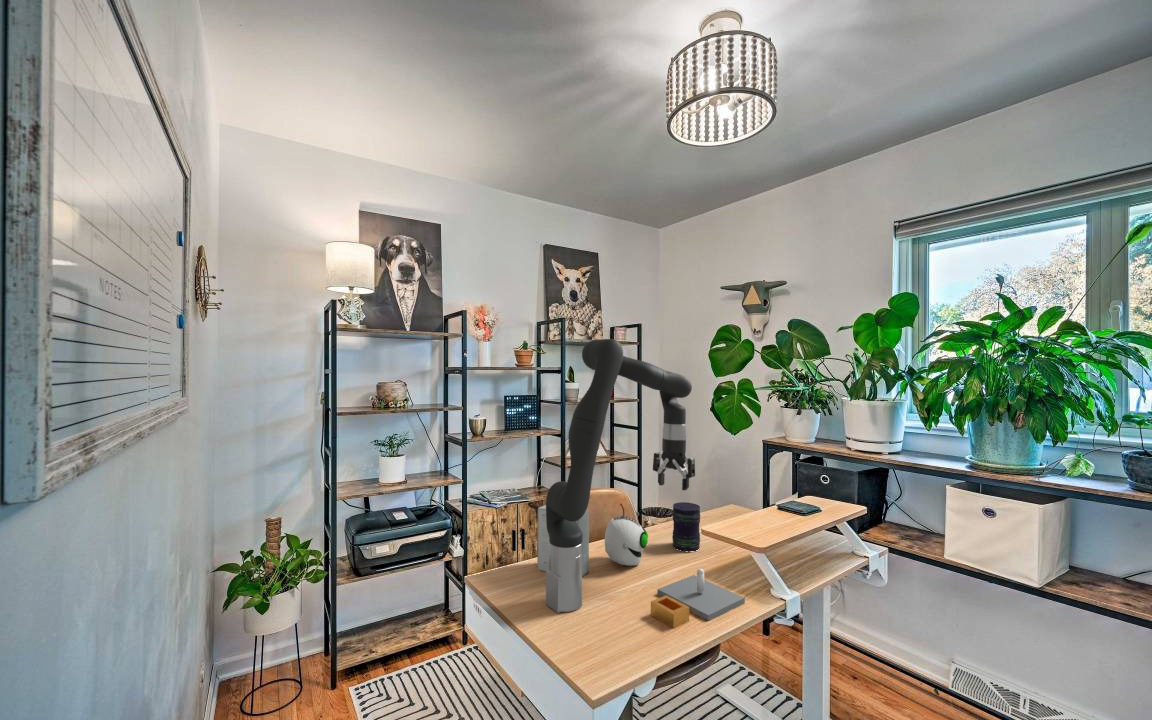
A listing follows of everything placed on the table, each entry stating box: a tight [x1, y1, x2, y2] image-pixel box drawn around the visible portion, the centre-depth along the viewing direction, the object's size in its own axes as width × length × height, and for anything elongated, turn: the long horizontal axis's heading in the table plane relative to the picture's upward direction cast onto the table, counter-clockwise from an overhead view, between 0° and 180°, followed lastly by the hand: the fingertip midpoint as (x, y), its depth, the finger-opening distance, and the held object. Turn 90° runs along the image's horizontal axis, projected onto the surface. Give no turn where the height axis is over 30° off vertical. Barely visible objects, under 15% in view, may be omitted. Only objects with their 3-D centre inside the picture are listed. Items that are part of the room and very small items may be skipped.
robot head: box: [604, 502, 649, 567], centre depth 162 cm, size 16×14×20 cm
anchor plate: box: [657, 568, 746, 622], centre depth 139 cm, size 16×18×8 cm
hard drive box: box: [536, 504, 590, 577], centre depth 156 cm, size 16×8×20 cm, turn 59°
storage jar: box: [671, 501, 701, 552], centre depth 177 cm, size 10×10×15 cm
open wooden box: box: [650, 595, 690, 629], centre depth 128 cm, size 6×8×4 cm
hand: (673, 487), depth 158 cm, fingers open, 8 cm apart
